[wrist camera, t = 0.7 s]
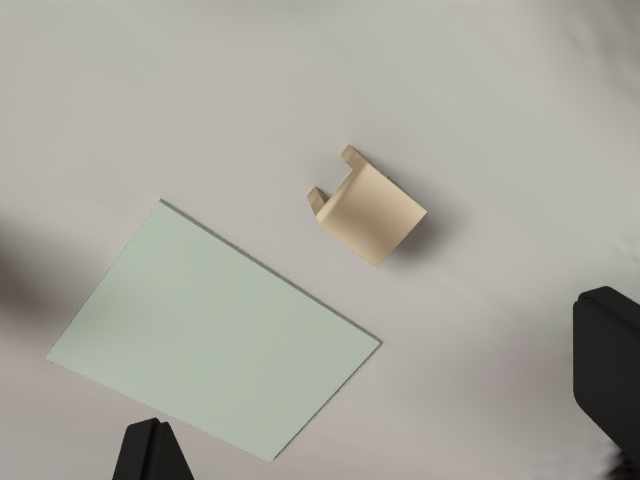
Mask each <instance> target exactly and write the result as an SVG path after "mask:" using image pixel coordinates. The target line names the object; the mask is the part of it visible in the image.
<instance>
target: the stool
mask: <svg viewBox="0 0 640 480" xmlns="http://www.w3.org/2000/svg"><path fill="white" fill-rule="evenodd" d="M341 156H342V157H343V159H344V160H345V161H346V162H347V163H348V164H349V165H350V167H351V168H352V169H353V171H352V173H351V174H350V175H349V176H348V177H347V179H346V180H345V181H344V182H343V183H342V185H341V186H340V187H339V188H338V189H337V191H336V192H335V193H334V194H333V196H332V197H331V198H330V199H329V200H328V198H327V196H326V194H324V193H323V192H322V191H320V190H319V189H318V188H317V187H315V188H314V189H313V190H312V191H311V193H310V194H309V195H308V196H307V198H308V200H309V202H310V205H311V207H312V209H313V211H314V214H315V216H316V218H317V220H318V223H319V225H320V227H321V228H322V229H323V230H325V231H326V232H327V233H329V234H330V235H332V236H333V237H334V238H336V239H337V240H338V241H340V242H341V243H343V244H344V245H345V246H347V247H348V248H350V249H351V250H352V251H354V252H355V253H357V254H358V255H359V256H361V257H362V258H364V259H365V260H366V261H368V262H369V263H371V264H372V265H373V266H375V267H376V268H378V267H379V266H380V265H381V264H382V263H383V261H384V260H385V259H386V258H387V257H388V256H389V255H390V254H391V252H392V251H393V250H394V249H395V248H396V247H397V246H398V244H399V243H400V242H401V241H402V240H403V239H404V238H405V237H406V235H407V234H408V233H409V232H410V231H411V230H412V229H413V228H414V226H415V225H416V224H417V223H418V222H419V221H420V220H421V219H422V217H423V216H424V215H425V214H426V213H427V211H426V210H425V209H424V208H423V207H422V206H420V205H419V204H418V203H417V202H416V201H415V200H414V199H413V198H412V197H411V196H409V195H408V194H407V193H406V192H405V191H404V190H403V189H402V188H401V187H400V186H399V185H397V184H396V183H395V182H394V181H393V180H391V179H390V178H389V177H386V176H384V175H383V174H382V173H381V172H380V171H378V170H377V169H376V168H375V167H374V166H373V165H372V164H370V163H369V162H368V161H367V160H366V159H365V158H364V157H363V156H362V155H361V154H360V153H359V152H358V151H356V150H355V149H354V148H353V147H351V146H350V145H349V146H348V147H347V148H346V149H345V151H344V152H343V153H342V154H341Z"/></svg>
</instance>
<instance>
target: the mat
mask: <svg viewBox="0 0 640 480" xmlns="http://www.w3.org/2000/svg"><path fill="white" fill-rule="evenodd" d="M379 344H380V341H379V339H377V338H376V337H374V336H373V335H371V334H370V333H368V332H366V331H365V330H363V329H362V328H360V327H359V326H357V325H356V324H354V323H352V322H351V321H349V320H348V319H346V318H345V317H343V316H342V315H340V314H339V313H337V312H335V311H334V310H332V309H331V308H329V307H328V306H326V305H325V304H323V303H321V302H320V301H318V300H317V299H315V298H314V297H312V296H311V295H309V294H307V293H306V292H304V291H303V290H301V289H300V288H298V287H297V286H295V285H293V284H292V283H290V282H289V281H287V280H286V279H284V278H283V277H281V276H280V275H278V274H276V273H275V272H273V271H272V270H270V269H269V268H267V267H266V266H264V265H262V264H261V263H259V262H258V261H256V260H255V259H253V258H252V257H250V256H248V255H247V254H245V253H244V252H242V251H241V250H239V249H238V248H236V247H234V246H233V245H231V244H230V243H228V242H227V241H225V240H224V239H222V238H221V237H219V236H217V235H216V234H214V233H213V232H211V231H210V230H208V229H207V228H205V227H203V226H202V225H200V224H199V223H197V222H196V221H194V220H193V219H191V218H189V217H188V216H186V215H185V214H183V213H182V212H180V211H179V210H177V209H176V208H174V207H172V206H171V205H169V204H168V203H166V202H165V201H163V200H162V199H160V200H159V202H158V203H157V204H156V206H155V207H154V208H153V210H152V211H151V213H150V214H149V215H148V217H147V218H146V219H145V221H144V222H143V224H142V225H141V226H140V228H139V229H138V230H137V232H136V233H135V235H134V236H133V237H132V239H131V240H130V241H129V243H128V244H127V246H126V247H125V248H124V250H123V251H122V252H121V254H120V255H119V257H118V258H117V259H116V261H115V262H114V263H113V265H112V266H111V268H110V269H109V270H108V272H107V273H106V274H105V276H104V277H103V279H102V280H101V281H100V283H99V284H98V285H97V287H96V288H95V290H94V291H93V292H92V294H91V295H90V296H89V298H88V299H87V301H86V302H85V303H84V305H83V306H82V307H81V309H80V310H79V312H78V313H77V314H76V316H75V317H74V318H73V320H72V321H71V323H70V324H69V325H68V327H67V328H66V329H65V331H64V332H63V334H62V335H61V336H60V338H59V339H58V340H57V342H56V343H55V345H54V346H53V347H52V349H51V350H50V351H49V353H48V354H47V356H46V359H48V360H50V361H52V362H54V363H56V364H59V365H61V366H63V367H65V368H67V369H69V370H72V371H74V372H76V373H78V374H80V375H82V376H85V377H87V378H89V379H91V380H93V381H95V382H98V383H100V384H102V385H104V386H106V387H108V388H111V389H113V390H115V391H117V392H119V393H122V394H124V395H126V396H128V397H130V398H132V399H135V400H137V401H139V402H141V403H143V404H145V405H148V406H150V407H152V408H154V409H156V410H158V411H161V412H163V413H165V414H167V415H169V416H171V417H174V418H176V419H178V420H180V421H182V422H184V423H187V424H189V425H191V426H193V427H195V428H197V429H200V430H202V431H204V432H206V433H208V434H210V435H213V436H215V437H217V438H219V439H221V440H223V441H226V442H228V443H230V444H232V445H234V446H236V447H239V448H241V449H243V450H245V451H247V452H249V453H252V454H254V455H256V456H258V457H260V458H262V459H265V460H267V461H269V462H271V461H272V459H273V458H274V457H275V456H276V455H277V454H278V453H279V452H280V451H281V450H282V449H283V448H284V447H285V445H286V444H287V443H288V442H289V441H290V440H291V439H292V438H293V437H294V436H295V435H296V434H297V433H298V431H299V430H300V429H301V428H302V427H303V426H304V425H305V424H306V423H307V422H308V421H309V420H310V419H311V417H312V416H313V415H314V414H315V413H316V412H317V411H318V410H319V409H320V408H321V407H322V406H323V405H324V403H325V402H326V401H327V400H328V399H329V398H330V397H331V396H332V395H333V394H334V393H335V392H336V391H337V389H338V388H339V387H340V386H341V385H342V384H343V383H344V382H345V381H346V380H347V379H348V378H349V377H350V375H351V374H352V373H353V372H354V371H355V370H356V369H357V368H358V367H359V366H360V365H361V364H362V363H363V361H364V360H365V359H366V358H367V357H368V356H369V355H370V354H371V353H372V352H373V351H374V350H375V349H376V347H377V346H378V345H379Z"/></svg>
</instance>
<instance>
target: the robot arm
mask: <svg viewBox="0 0 640 480" xmlns="http://www.w3.org/2000/svg"><path fill="white" fill-rule="evenodd" d="M573 392H574V397H575V399H576V402H577V403H578V405H579V406H580V408H581V409H582V410H583V411H584V412H585V413H586V414H587V415H588V416H589V417H590V418H591V419H592V420H593V421H594V422H595V423H596V424H597V425H598V426H599V427H600V428H601V429H602V430H603V431H604V432H605V433H606V434H607V435H608V436H609V437H610V438H611V439H612V440H613V441H614V442H615V443H616V444H617V445H618V446H619V447H620V448H621V449H622V450H623V452H624V453H625V454H626V455H627V456H628V457H629V458H630V459H631V460H632V461H633V462H634V463H635V464H636V465H637V466H638V467H639V468H640V305H639V304H637V303H636V302H634V301H632V300H631V299H629V298H627V297H626V296H624V295H623V294H621V293H619V292H618V291H616V290H614V289H613V288H611V287H608V286H603V287H600V288H597V289H593V290H590V291H586V292H583V293H581V294H580V295H579V297H578V301H576V302H575V303H574V305H573ZM112 480H194V478H193V475H192V473H191V471H190V469H189V467H188V464H187V462H186V460H185V458H184V455H183V453H182V451H181V449H180V446H179V444H178V442H177V440H176V438H175V435H174V433H173V431H172V429H171V426H170V425H169V423H168V422H163V423H160V421H159V420H158V419H157V418H152V419H148V420H145V421H141V422H138V423H135V424H131V425H129V426H128V427H127V429H126V432H125V435H124V439H123V443H122V446H121V450H120V454H119V457H118V461H117V464H116V468H115V472H114V475H113V479H112Z"/></svg>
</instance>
